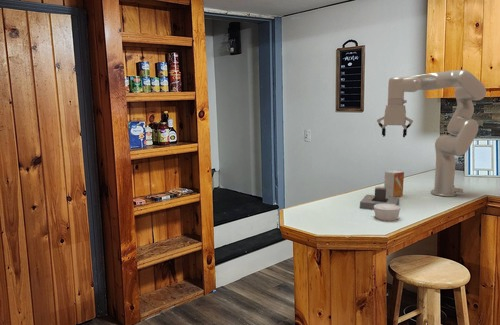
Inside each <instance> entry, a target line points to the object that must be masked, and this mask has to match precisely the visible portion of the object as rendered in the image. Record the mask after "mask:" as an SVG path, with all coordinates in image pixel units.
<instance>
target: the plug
mask: <svg viewBox="0 0 500 325" xmlns="http://www.w3.org/2000/svg"><path fill="white" fill-rule="evenodd" d="M374 195H375V201H378V202H386V197H387V196H386V188H385V187H384V186H381V185H380V186H379V185H378V186H375V188H374Z"/></svg>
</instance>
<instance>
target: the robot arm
mask: <svg viewBox="0 0 500 325" xmlns="http://www.w3.org/2000/svg"><path fill="white" fill-rule="evenodd" d="M449 88H455V89H454V98H455V99H456V108H455V111H454V113H453V115H452V116H451V118H450V120H449V122H448V124H447V126H446V130H447V133H448V134H451V135H446V134H444V135H440V136H438V137H437V138H436V140H435V142H434V149H435V170H434V171H435V172H434V187H433V188H434V189H432V190H431V191H430V194H432V195H433V196H438V197H439V196H440V197H455V196H457V193H461V194H462V193H464V189H463V188H461V187H458V188H457V187H455V173H456V157H455V156H459V157H460V156H463V155H465V154H467V152H468V151H469V149H470V147H471V146H472V144H473V142H474V140H475V138H476V136H477V135H478V133H479V123H478V122H477V120H476V119H473V118H472V117H473V114H474V112H475V106H474V103H473V101H481V100H483V99H484V98H485V97H486V94H487V89H486V86H485V85H484V84H483V82H482V81H480V79H478V78H477V77H476V75H474V74H473V73H472V72H470V71H469V70H467V69H457V70H454V69H453V70H445V71H437V72H430V73H429V72H428V73H424V74H418V75H409V76H408V75H407V76H402V77H401V76H398V77H397V76H396V77H393V76H392V77H390V78H388V86H387V105H385V109H384V116H382V117H380V118H378V119H376V122H377V123H378V126H379V127H380V128H381V136H382V137H383V138H384V137H386V130H387V129H386V127H387V126H402V127H403V130H402V134H403V135H402V137H403V138H405V137H406V136H407V135H408V134H407V133H408V132H407V131H408V129H409V128H410V127H411V126H412V124H413V122H414V120H413V119H411V118H409V117H407V111H406V104H407V102H408V101H407V99H405V93H415V92H418V91H422V90H423V91H434V90H436V91H437V90H442V89H449ZM404 104H405V105H404ZM381 121H383V123H382V122H381ZM406 122H408V124H407V125H406Z"/></svg>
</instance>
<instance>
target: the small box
mask: <svg viewBox="0 0 500 325" xmlns="http://www.w3.org/2000/svg"><path fill="white" fill-rule="evenodd" d="M404 176H405V171H402V170H395V169H393V170H388V171H384V181H383V182H384V183H383V185H384V186H383V187H385V188H386V197H397V198H398V197H403V194H404V179H405V177H404Z"/></svg>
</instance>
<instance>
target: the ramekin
mask: <svg viewBox="0 0 500 325" xmlns="http://www.w3.org/2000/svg"><path fill="white" fill-rule="evenodd" d="M373 211H374V215H375V218H376V219H378V220H380V221H387V222H389V221H393V222H394V221H396V220H397V219H398V218H399V217H400V213H401V212H400V211H401V206H399V205H394V204H376V205H374V210H373Z"/></svg>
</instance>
